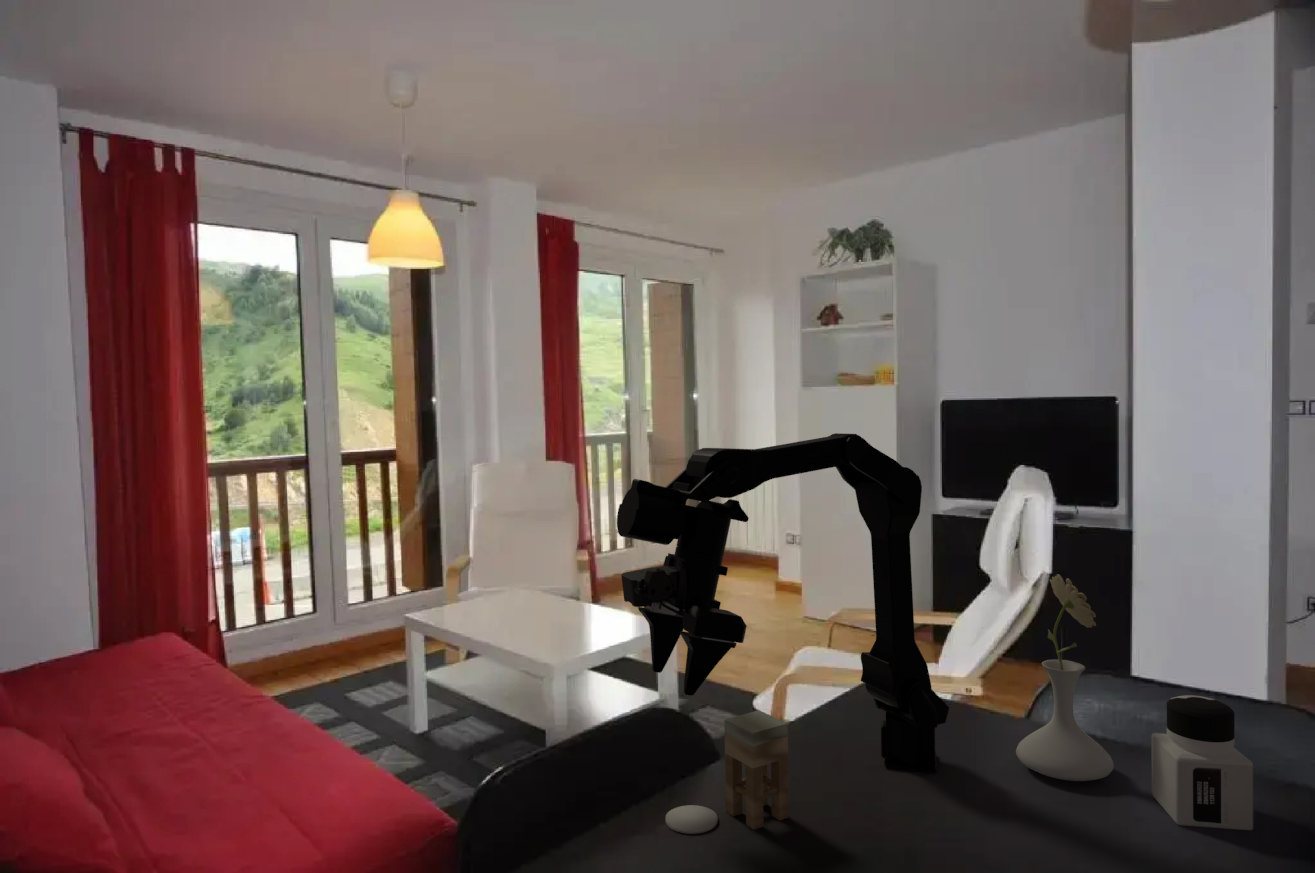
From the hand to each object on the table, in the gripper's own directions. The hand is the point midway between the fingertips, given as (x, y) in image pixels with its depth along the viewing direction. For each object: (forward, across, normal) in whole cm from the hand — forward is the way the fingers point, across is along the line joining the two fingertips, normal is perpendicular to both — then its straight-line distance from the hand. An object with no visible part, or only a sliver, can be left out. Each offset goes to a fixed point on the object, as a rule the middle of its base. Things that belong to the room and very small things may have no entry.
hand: (671, 682), depth 97 cm
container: (+2, +25, +57) cm, 63 cm away
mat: (+15, +2, +5) cm, 16 cm away
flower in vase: (+2, +10, +53) cm, 54 cm away
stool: (+13, +4, +12) cm, 18 cm away
